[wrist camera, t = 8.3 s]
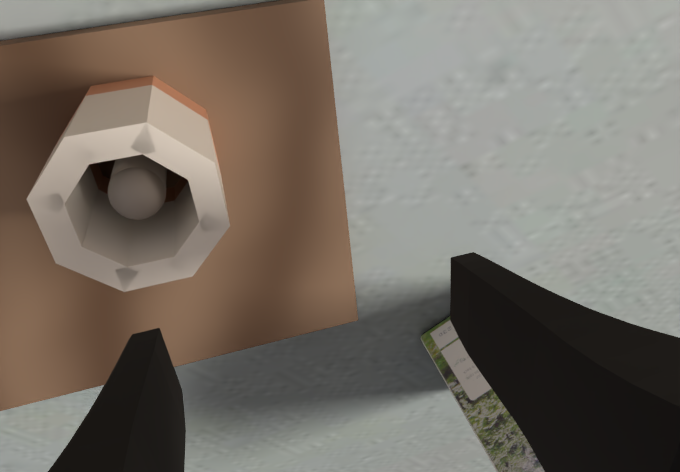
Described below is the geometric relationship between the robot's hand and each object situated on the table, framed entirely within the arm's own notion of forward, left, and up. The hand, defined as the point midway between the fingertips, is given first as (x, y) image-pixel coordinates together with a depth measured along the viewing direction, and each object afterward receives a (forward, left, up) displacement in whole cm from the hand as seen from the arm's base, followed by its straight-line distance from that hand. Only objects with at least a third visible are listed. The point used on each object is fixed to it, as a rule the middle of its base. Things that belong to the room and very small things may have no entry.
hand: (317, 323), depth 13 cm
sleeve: (-4, +2, -9) cm, 10 cm away
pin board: (-7, -1, -10) cm, 12 cm away
